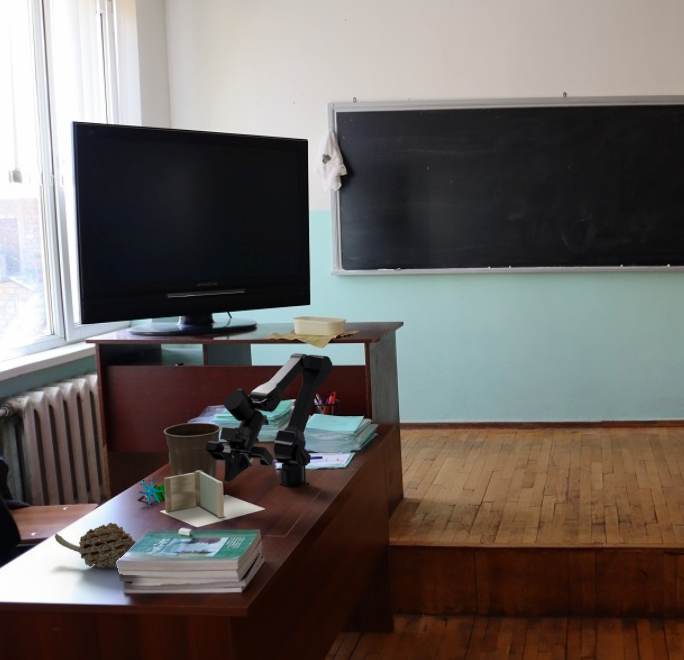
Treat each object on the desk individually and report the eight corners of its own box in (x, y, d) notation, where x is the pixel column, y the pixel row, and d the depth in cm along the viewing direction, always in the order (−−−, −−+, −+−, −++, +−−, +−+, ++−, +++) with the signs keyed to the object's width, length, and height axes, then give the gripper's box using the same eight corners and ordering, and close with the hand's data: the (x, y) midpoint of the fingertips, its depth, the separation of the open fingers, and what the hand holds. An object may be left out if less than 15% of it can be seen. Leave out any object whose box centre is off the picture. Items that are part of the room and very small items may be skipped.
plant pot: (207, 493, 269) (204, 436, 267) (155, 489, 275) (153, 433, 273) (232, 478, 285) (230, 424, 283) (183, 474, 290) (180, 421, 288)
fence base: (201, 503, 259) (200, 470, 258) (205, 505, 257) (203, 471, 256) (164, 510, 253) (163, 476, 252) (167, 512, 251) (166, 478, 250)
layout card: (226, 496, 267) (226, 494, 267) (265, 510, 253) (265, 508, 253) (159, 512, 253) (159, 511, 253) (197, 528, 239) (197, 527, 239)
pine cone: (147, 562, 217) (145, 519, 216) (124, 578, 208) (122, 533, 207) (63, 553, 224) (61, 511, 223) (37, 567, 215) (35, 524, 214)
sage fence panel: (199, 505, 256) (198, 472, 255) (204, 504, 257) (202, 471, 256) (219, 517, 246) (218, 483, 245) (224, 516, 246) (222, 482, 245)
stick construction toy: (148, 501, 256) (140, 476, 259) (131, 513, 258) (123, 488, 262) (177, 502, 265) (169, 478, 269) (161, 513, 268) (153, 489, 271)
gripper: (206, 411, 258) (182, 462, 250) (265, 417, 249) (242, 470, 241) (225, 433, 266) (203, 483, 258) (282, 439, 257) (261, 491, 249)
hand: (226, 481), depth 251 cm, fingers closed
